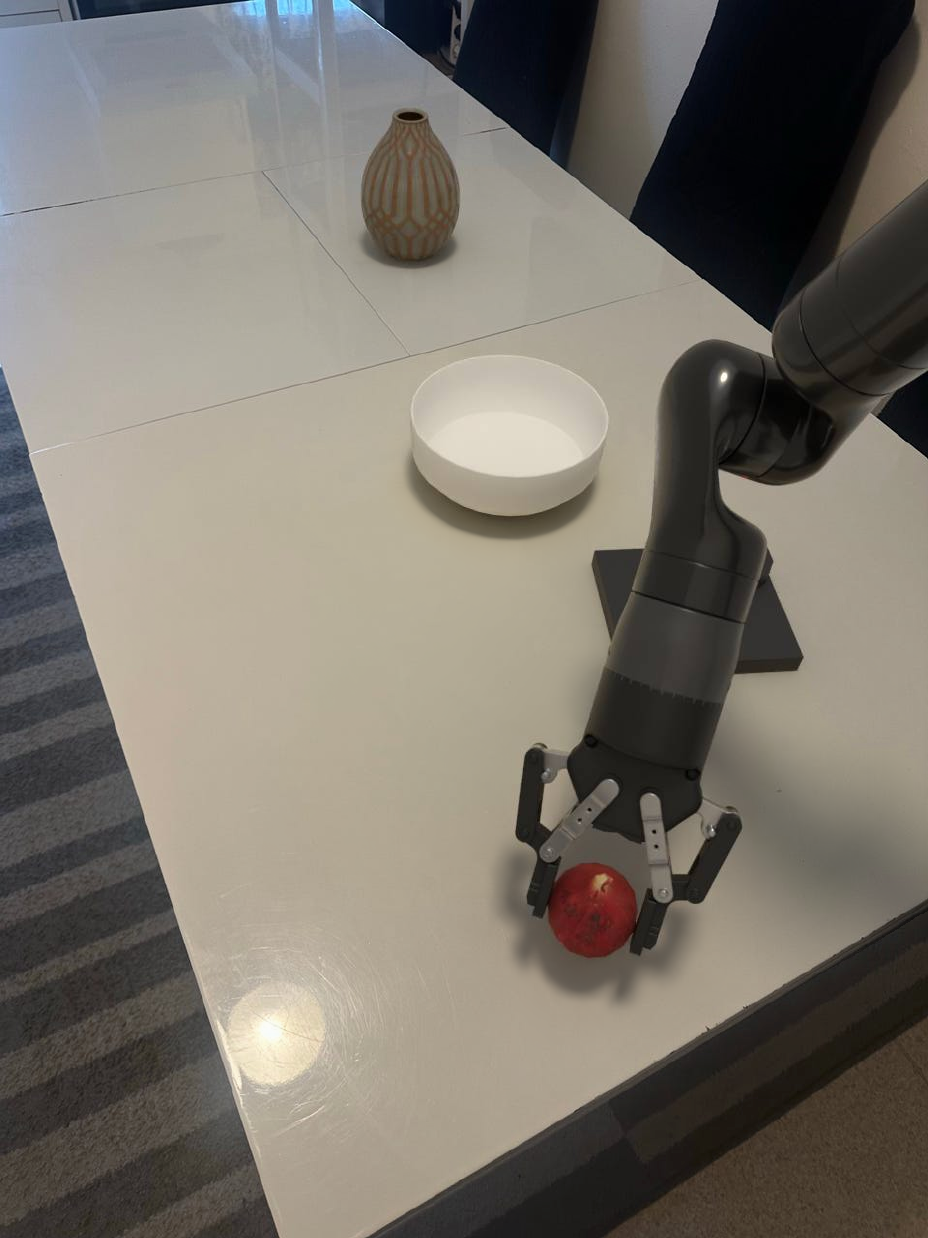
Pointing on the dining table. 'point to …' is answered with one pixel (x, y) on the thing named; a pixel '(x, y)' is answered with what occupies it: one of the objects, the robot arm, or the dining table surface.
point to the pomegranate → (592, 910)
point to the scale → (765, 626)
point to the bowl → (507, 433)
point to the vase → (410, 189)
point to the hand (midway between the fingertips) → (586, 930)
